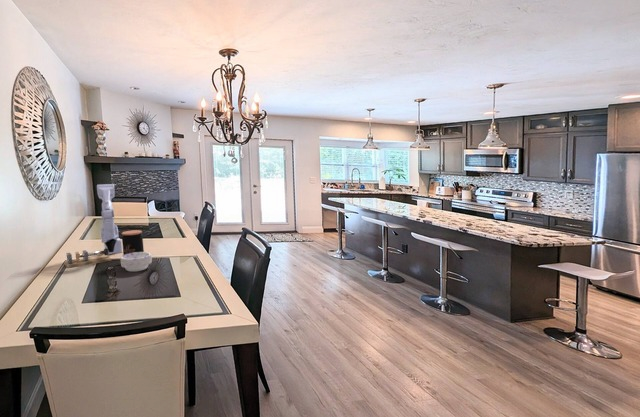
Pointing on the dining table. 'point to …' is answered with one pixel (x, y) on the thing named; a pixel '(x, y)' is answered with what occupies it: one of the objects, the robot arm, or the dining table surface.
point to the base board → (91, 261)
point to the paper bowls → (136, 261)
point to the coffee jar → (132, 241)
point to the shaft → (95, 253)
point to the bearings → (77, 257)
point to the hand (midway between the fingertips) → (111, 251)
